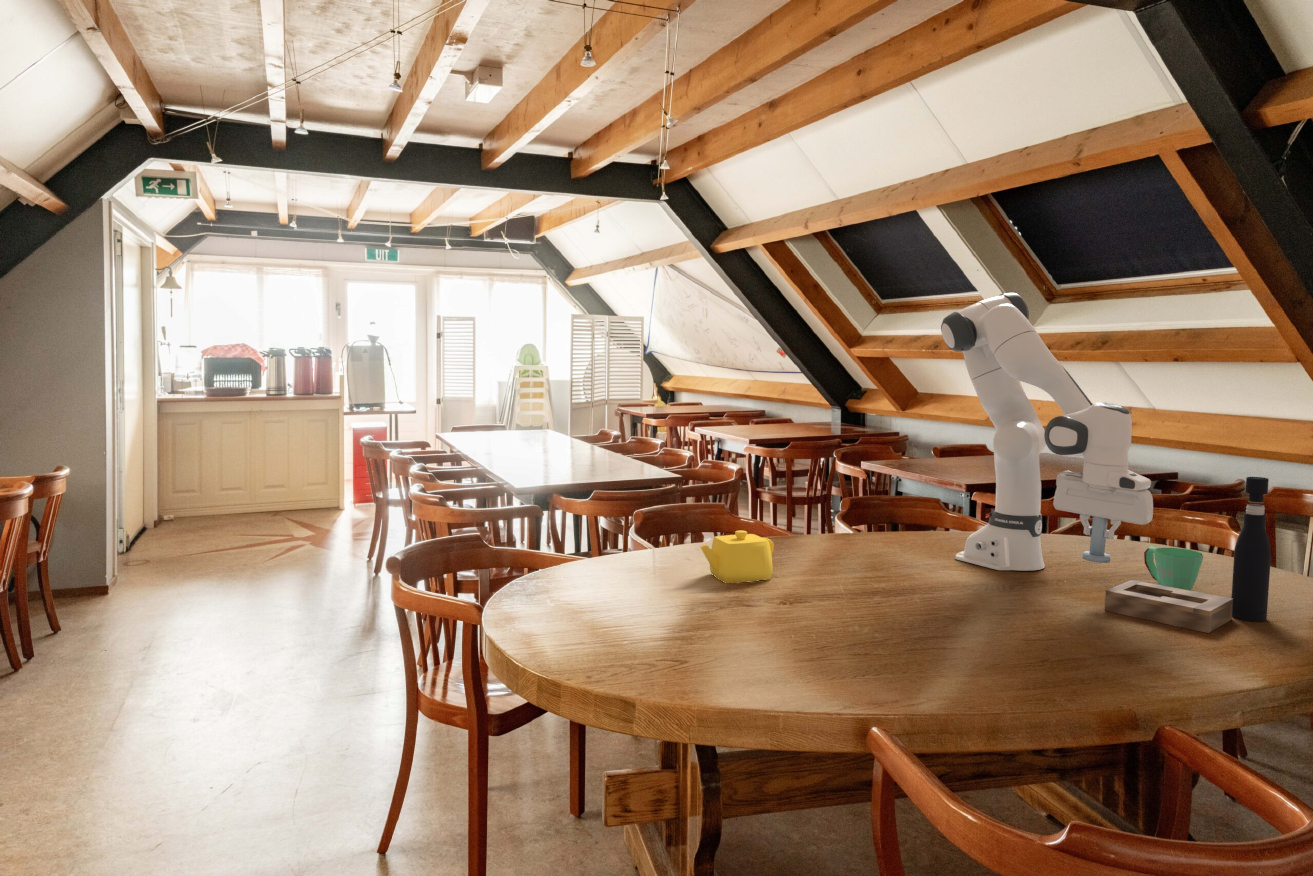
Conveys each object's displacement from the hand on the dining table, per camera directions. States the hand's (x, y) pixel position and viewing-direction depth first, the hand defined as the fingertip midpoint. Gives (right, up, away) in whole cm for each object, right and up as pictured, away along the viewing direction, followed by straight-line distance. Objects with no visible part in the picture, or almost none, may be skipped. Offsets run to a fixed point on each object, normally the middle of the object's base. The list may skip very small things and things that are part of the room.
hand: (1098, 536), depth 191 cm
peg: (0, -5, +1) cm, 5 cm away
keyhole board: (+10, -16, -9) cm, 21 cm away
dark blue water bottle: (+27, -16, -10) cm, 33 cm away
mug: (+22, -14, +10) cm, 28 cm away
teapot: (-79, -13, +23) cm, 84 cm away
